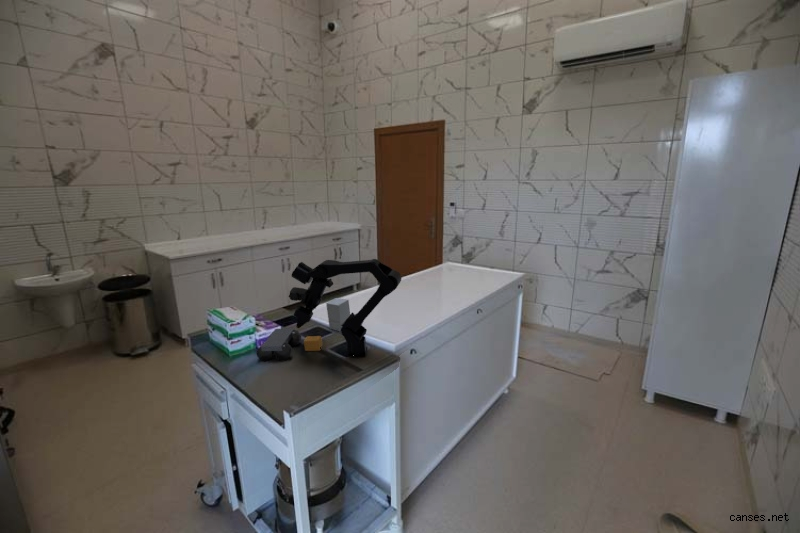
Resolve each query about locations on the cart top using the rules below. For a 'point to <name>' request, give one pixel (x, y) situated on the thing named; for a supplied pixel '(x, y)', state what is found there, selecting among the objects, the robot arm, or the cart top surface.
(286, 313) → the cart top surface
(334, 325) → the supplement box
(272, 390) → the cart top surface
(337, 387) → the cart top surface
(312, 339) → the block
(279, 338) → the trolley
